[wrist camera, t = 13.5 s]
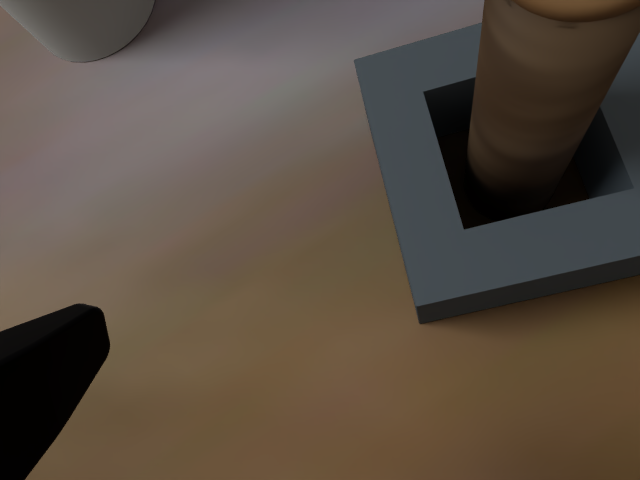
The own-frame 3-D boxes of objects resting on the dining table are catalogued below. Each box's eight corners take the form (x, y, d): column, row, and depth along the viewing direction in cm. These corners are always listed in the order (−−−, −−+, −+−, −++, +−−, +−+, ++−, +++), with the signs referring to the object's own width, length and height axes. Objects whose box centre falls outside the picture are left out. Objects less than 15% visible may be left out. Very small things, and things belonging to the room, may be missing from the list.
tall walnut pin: (573, 186, 22) (735, -79, 10) (502, 239, 22) (581, 35, 10) (513, 126, 24) (593, -173, 11) (446, 176, 24) (455, -72, 11)
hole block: (680, 265, 21) (734, 234, 17) (419, 324, 22) (416, 306, 18) (588, 49, 24) (616, -17, 20) (366, 111, 25) (353, 59, 22)
